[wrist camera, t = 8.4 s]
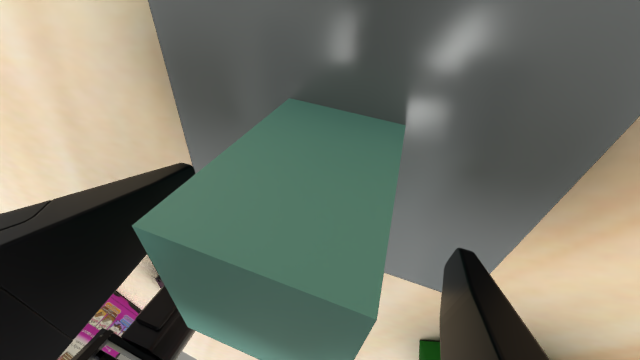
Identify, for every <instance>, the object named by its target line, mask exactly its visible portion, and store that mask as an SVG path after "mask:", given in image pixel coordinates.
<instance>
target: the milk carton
mask: <svg viewBox="0 0 640 360" xmlns="http://www.w3.org/2000/svg"><path fill="white" fill-rule="evenodd" d="M419 360H441V350H440V342H434V341H421V340H420V346H419Z"/></svg>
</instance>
